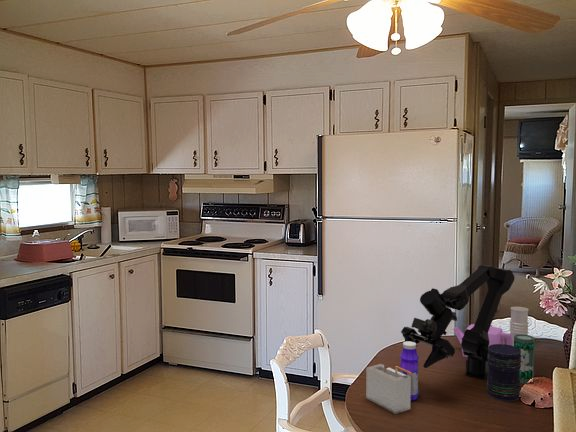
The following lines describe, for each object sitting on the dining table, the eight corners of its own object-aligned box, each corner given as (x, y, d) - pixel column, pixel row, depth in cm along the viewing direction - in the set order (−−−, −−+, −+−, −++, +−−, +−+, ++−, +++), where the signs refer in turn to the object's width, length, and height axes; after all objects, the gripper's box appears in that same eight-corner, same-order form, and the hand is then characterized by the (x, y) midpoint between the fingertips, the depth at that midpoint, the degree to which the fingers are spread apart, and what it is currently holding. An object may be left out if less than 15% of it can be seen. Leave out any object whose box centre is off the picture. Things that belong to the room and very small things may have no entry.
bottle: (418, 402, 166) (419, 347, 165) (399, 401, 168) (400, 346, 166) (417, 392, 173) (418, 339, 172) (399, 391, 175) (400, 338, 173)
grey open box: (380, 394, 173) (380, 362, 172) (410, 409, 162) (410, 376, 161) (366, 398, 170) (366, 366, 169) (395, 414, 159) (395, 380, 158)
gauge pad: (389, 391, 172) (390, 360, 171) (414, 404, 163) (415, 371, 162) (385, 393, 171) (385, 362, 170) (410, 405, 162) (410, 372, 161)
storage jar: (526, 400, 167) (528, 353, 166) (497, 402, 166) (498, 355, 164) (508, 387, 177) (509, 343, 176) (480, 389, 176) (481, 344, 174)
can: (510, 380, 182) (512, 337, 181) (516, 375, 187) (517, 333, 186) (529, 385, 179) (531, 341, 177) (535, 379, 183) (536, 336, 182)
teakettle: (516, 361, 201) (517, 328, 200) (475, 365, 197) (476, 332, 196) (489, 346, 217) (490, 316, 216) (451, 350, 214) (451, 319, 212)
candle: (527, 343, 221) (528, 307, 219) (528, 348, 214) (529, 311, 213) (509, 341, 223) (510, 305, 222) (509, 346, 217) (510, 310, 215)
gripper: (405, 302, 180) (380, 340, 175) (449, 315, 164) (423, 357, 159) (421, 322, 185) (397, 359, 180) (466, 336, 169) (441, 377, 164)
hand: (413, 363), depth 170 cm, fingers open, 9 cm apart
